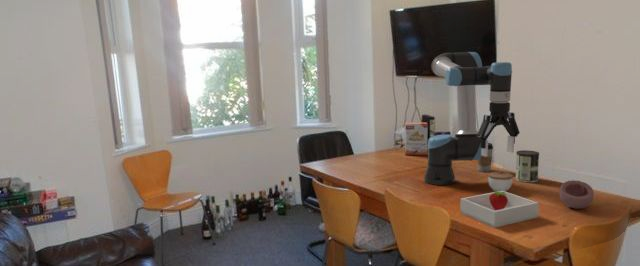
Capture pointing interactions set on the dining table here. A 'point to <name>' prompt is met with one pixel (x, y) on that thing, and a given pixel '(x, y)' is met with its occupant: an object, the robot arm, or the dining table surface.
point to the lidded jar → (500, 180)
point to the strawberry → (498, 200)
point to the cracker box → (416, 138)
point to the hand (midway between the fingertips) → (497, 153)
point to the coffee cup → (486, 160)
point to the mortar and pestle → (576, 194)
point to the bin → (512, 213)
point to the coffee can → (527, 166)
